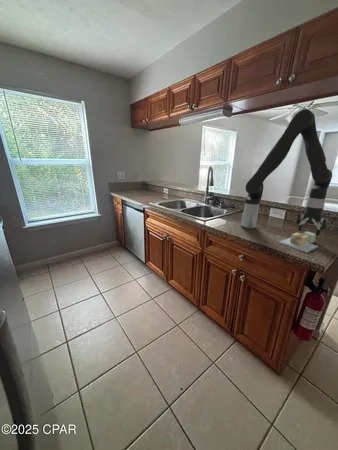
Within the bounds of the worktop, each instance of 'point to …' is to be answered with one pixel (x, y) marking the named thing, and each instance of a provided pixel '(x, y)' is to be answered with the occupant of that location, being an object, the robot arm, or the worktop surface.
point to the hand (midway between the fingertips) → (308, 233)
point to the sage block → (310, 237)
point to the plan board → (304, 248)
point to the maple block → (299, 239)
